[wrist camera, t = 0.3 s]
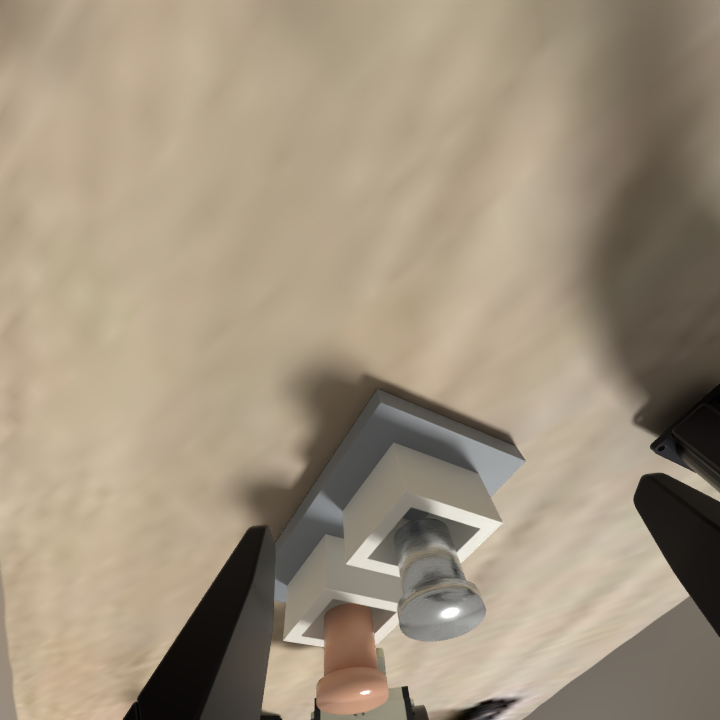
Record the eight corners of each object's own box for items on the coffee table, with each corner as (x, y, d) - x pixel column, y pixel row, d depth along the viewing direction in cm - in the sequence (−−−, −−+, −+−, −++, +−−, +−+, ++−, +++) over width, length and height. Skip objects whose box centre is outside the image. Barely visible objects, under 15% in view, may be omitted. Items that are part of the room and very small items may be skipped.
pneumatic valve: (410, 649, 42) (439, 815, 31) (305, 662, 41) (300, 836, 31) (412, 624, 39) (445, 796, 29) (300, 637, 38) (292, 819, 28)
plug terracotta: (390, 605, 27) (402, 687, 23) (360, 636, 29) (366, 717, 25) (334, 594, 26) (337, 679, 22) (306, 627, 28) (304, 711, 24)
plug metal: (471, 523, 23) (503, 603, 19) (430, 564, 25) (452, 646, 21) (410, 504, 22) (431, 587, 18) (372, 549, 24) (383, 634, 20)
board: (516, 446, 27) (557, 508, 23) (370, 602, 36) (377, 671, 31) (377, 388, 24) (391, 448, 19) (251, 577, 32) (240, 651, 28)
